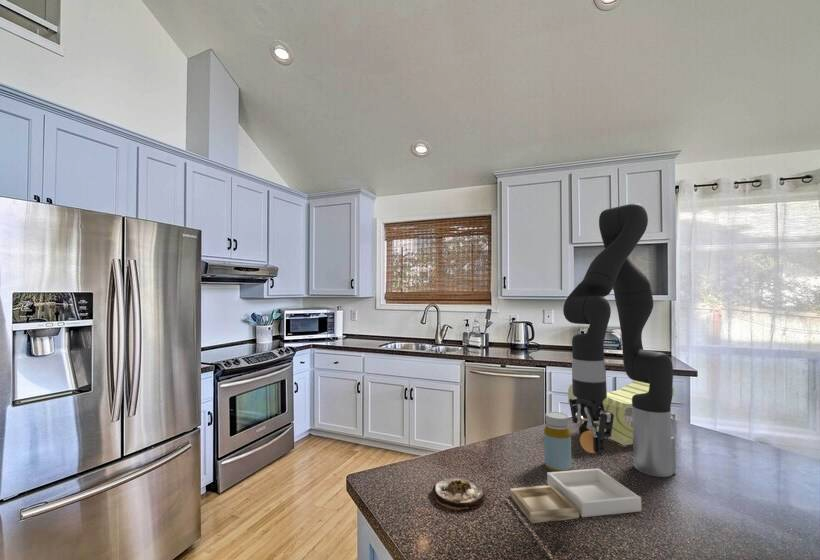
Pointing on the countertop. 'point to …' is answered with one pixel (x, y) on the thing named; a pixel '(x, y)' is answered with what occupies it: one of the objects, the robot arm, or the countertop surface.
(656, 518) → the countertop surface
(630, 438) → the pale yellow ridged piece
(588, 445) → the ball
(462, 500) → the sushi roll
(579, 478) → the dish
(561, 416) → the bottle
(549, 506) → the tray
